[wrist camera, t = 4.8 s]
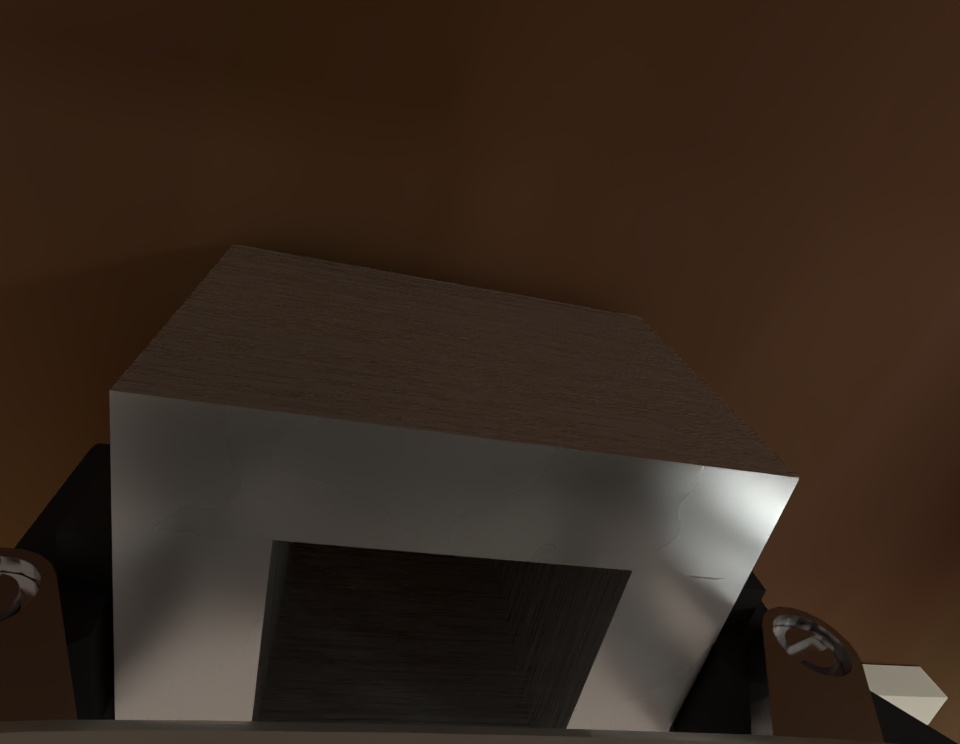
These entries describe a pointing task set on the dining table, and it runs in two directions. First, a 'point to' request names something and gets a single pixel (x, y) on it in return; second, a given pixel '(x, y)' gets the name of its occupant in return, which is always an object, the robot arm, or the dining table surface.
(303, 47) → the dining table surface
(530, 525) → the grey hollow square block
